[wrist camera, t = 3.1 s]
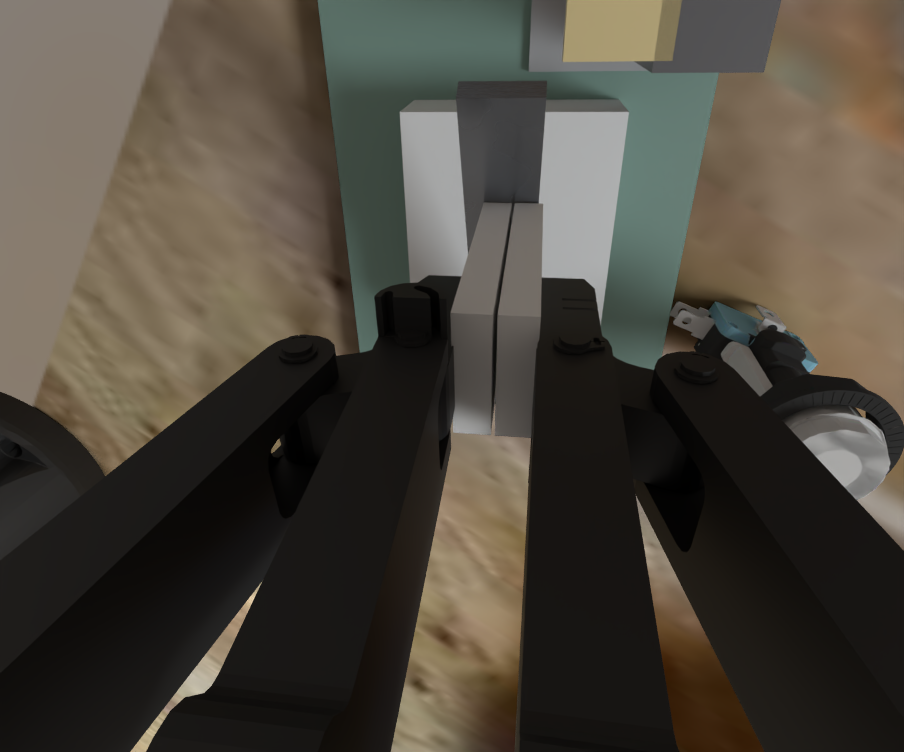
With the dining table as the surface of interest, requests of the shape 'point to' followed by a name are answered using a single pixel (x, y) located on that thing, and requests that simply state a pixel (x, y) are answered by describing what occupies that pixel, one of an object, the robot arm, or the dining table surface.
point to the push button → (803, 393)
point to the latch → (672, 34)
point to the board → (497, 54)
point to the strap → (500, 144)
